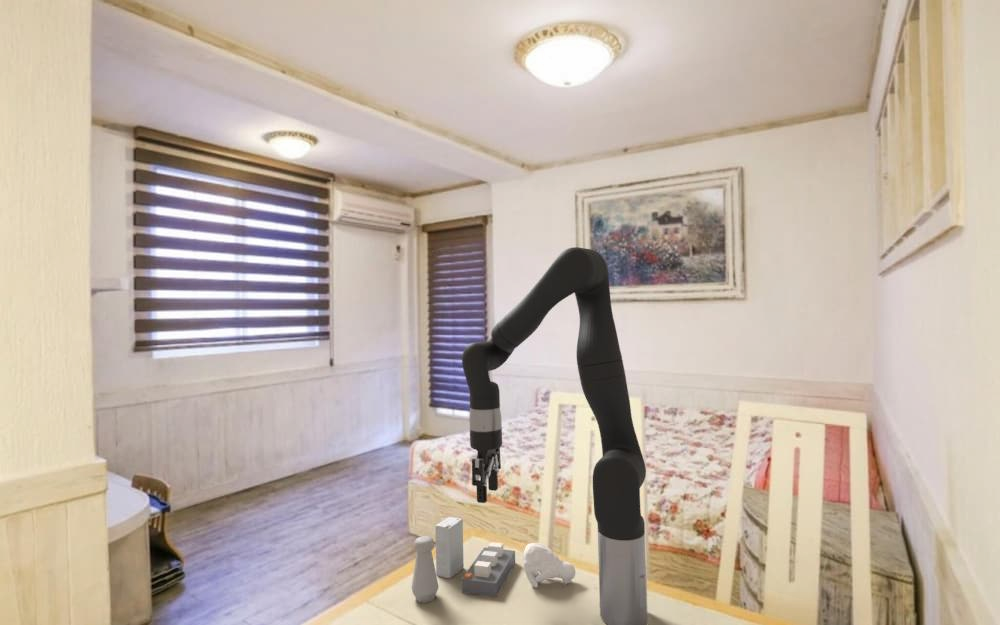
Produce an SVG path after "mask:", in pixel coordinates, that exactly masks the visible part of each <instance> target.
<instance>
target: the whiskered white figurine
mask: <svg viewBox="0 0 1000 625" xmlns="http://www.w3.org/2000/svg"><path fill="white" fill-rule="evenodd" d="M523 566H524V567H523V569H524V573H525V575H526V577H527V578H526V579H527V580H528V581H529V583H530V584H531V586H533V587H534V588H538V587H539V583H540V582H544V581H547V580H549V579H555V578H557V579H562V582H563V586H565V585H567V584H570V583H571V581H573V579H575V577H576V569H575V566H574V565H573V564H572V563H570V562H568V561H563V560H562V559H561V558H560V557H559V556H558V554H556V553H554V551H553V550H552V549H550V548H549V547H547V546H546V545H545V544H543V543H539V542H532V543H528V544H526V546H525V548H524V551H523Z"/></svg>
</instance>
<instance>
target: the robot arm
mask: <svg viewBox="0 0 1000 625" xmlns="http://www.w3.org/2000/svg"><path fill="white" fill-rule="evenodd" d="M572 294H574V296H575V299H576V305H577V307H578V314H579V327H578V328H579V329H578V336H577V345H576V364H577V369H578V375H579V381H580V385H581V390H582V392H583V394H584V397H585V400H586V402H587V404H588V405H589V408H590V410H591V412H592V414H593V415H594V418H595V420H596V423H597V426H598V430H599V434H600V436H599V437H600V441H601V450H602V452H601V453H602V457H600V459H599V460H598V461H597V462H596V463H595V465H594V466H593V471H592V495H593V496H592V497H593V511H594V517H595V520H596V523H597V547H598V548H597V549H598V550H597V551H598V552H597V553H598V579H599V580H598V581H599V582H598V584H599V588H598V589H599V592H598V593H599V614H600V615H599V616H600V618H601V621H603V622H604V623H605V624H607V625H648V582H647V578H648V577H647V564H646V538H645V537H646V536H645V535H646V534H645V533H646V532H645V530H646V527H645V525H646V524H645V519H644V517H643V516H642V513H641V487H642V485H643V484H644V482H645V480H646V479H645V478H646V474H647V469H646V468H647V467H646V464H645V461H644V460H645V459H644V457H643V456H644V455H643V453H642V450H641V446H640V444H639V440H638V437H637V434H636V430H635V427H634V422H633V416H632V409H631V408H632V407H631V402H630V397H629V396H630V395H629V390H628V381H627V375H626V371H625V370H626V369H625V367H624V362H623V361H624V360H623V356H622V353H621V352H622V351H621V348H620V342H619V338H618V334H617V333H618V332H617V329H616V322H615V320H614V314H613V310H612V301H611V289H610V279H609V269H608V265H607V263H606V259H605V258H604V257H603V255H601V254H600V252H598V251H597V250H594V249H592V248H591V249H590V248H583V247H576V246H575V247H569V248H566V249H564V250H563V251H561V253H560V254H559V255H557V257H556V258H555V260H554V261H553V262H552V263H551V264H550V266H549V267H548V268H547V269H546V271H545V273H544V274H543V275H542V277H541V278H540V279H538V281H537V282H536V283H535V285H534V286H533V287H532V288H531V290H530V291H529V292H528V293H527V294H526V295H525V296H524V297H523V298H522V299H521V300H520V302H519V303H517V305H516V306H514V307H513V308H512V309H511V310H510V311H509V312H508V313H507V314H505V316H504V317H503V318H501V319H500V320H499V322H497V323H496V324H495V326H493V327H492V329H491V333H490V334H491V337H490V338H489V339H487V340H485V341H477V342H471V343H469V344H467V346H466V347H465V348H464V350H463V352H462V358H461V364H462V368H463V373H464V376H465V380H466V384H467V387H468V389H469V446H470V448H471V449H473V450H476V451H477V452H476V453H477V454H476V457H475V458H474V457H473V458H472V459H471V485H472V486H473V487H476V502H477V503H479V504H481V503H482V504H486V503H487V501H488V490H489V491H497V490H499V480H498V479H499V478H498V474H499V472H500V470H501V468H502V466H501V462H502V461H501V447H502V446H503V431H502V430H503V428H502V427H503V426H502V425H503V424H502V412H501V403H500V402H501V400H500V399H501V398H500V395H501V394H500V387H499V385H498V383H497V382H495V381H491V378H490V374H489V371H495V370H497V369H498V368H500V367H501V366H502V365H503V364H505V363H506V361H508V359H509V357H511V355H512V354H513V352H514V350H515V349H516V348H518V347H519V346H520V345H521V344H523V343H524V341H526V340H527V339H528V338H529V337H530V336H532V334H534V332H536V331H537V329H538V328H539V327H540V325H541V324H542V322H543V321H544V319H545V318H546V316H547V315H548V313H549V312H550V311H552V309H553V308H554V307H555V306H557V305H558V303H560V302H562V301H563V300H565V299H566V298H568V297H569V296H571V295H572ZM487 485H488V487H487ZM487 488H488V490H487Z"/></svg>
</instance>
